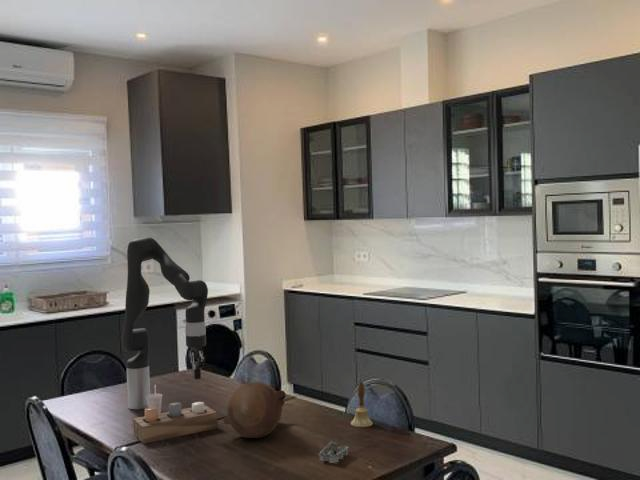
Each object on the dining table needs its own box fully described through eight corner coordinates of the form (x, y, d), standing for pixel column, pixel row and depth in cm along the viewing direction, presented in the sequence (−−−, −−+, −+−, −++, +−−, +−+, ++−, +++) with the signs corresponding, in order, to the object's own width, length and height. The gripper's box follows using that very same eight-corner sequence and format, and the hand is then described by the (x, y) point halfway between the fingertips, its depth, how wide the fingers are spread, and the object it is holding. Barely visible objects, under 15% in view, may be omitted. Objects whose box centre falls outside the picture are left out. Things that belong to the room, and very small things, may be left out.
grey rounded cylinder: (167, 419, 238) (166, 403, 238) (179, 417, 240) (178, 401, 240) (171, 422, 234) (171, 406, 234) (183, 420, 237) (183, 404, 236)
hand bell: (375, 421, 241) (374, 379, 241) (368, 428, 234) (366, 385, 233) (355, 419, 245) (354, 378, 244) (347, 426, 237) (345, 383, 237)
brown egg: (143, 424, 233) (143, 408, 233) (156, 422, 236) (155, 406, 236) (147, 427, 229) (146, 411, 229) (159, 425, 232) (159, 408, 232)
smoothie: (159, 422, 249) (157, 386, 248) (143, 421, 250) (142, 386, 250) (166, 417, 255) (164, 382, 255) (151, 416, 256) (150, 382, 256)
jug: (261, 449, 215) (294, 435, 243) (274, 392, 217) (306, 385, 245) (210, 432, 223) (248, 420, 251) (223, 377, 224) (259, 371, 252)
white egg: (190, 418, 243) (190, 403, 243) (202, 416, 245) (201, 401, 245) (195, 422, 239) (194, 406, 239) (206, 419, 241) (206, 403, 241)
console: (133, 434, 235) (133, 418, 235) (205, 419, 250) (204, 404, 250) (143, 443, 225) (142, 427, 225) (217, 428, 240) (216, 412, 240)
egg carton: (332, 451, 213) (332, 439, 212) (351, 455, 209) (351, 443, 209) (315, 461, 204) (315, 449, 204) (335, 465, 200) (334, 453, 200)
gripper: (180, 332, 245) (181, 376, 245) (192, 337, 233) (194, 384, 234) (198, 329, 249) (200, 373, 249) (211, 334, 237) (213, 380, 238)
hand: (197, 378), depth 242 cm, fingers closed
